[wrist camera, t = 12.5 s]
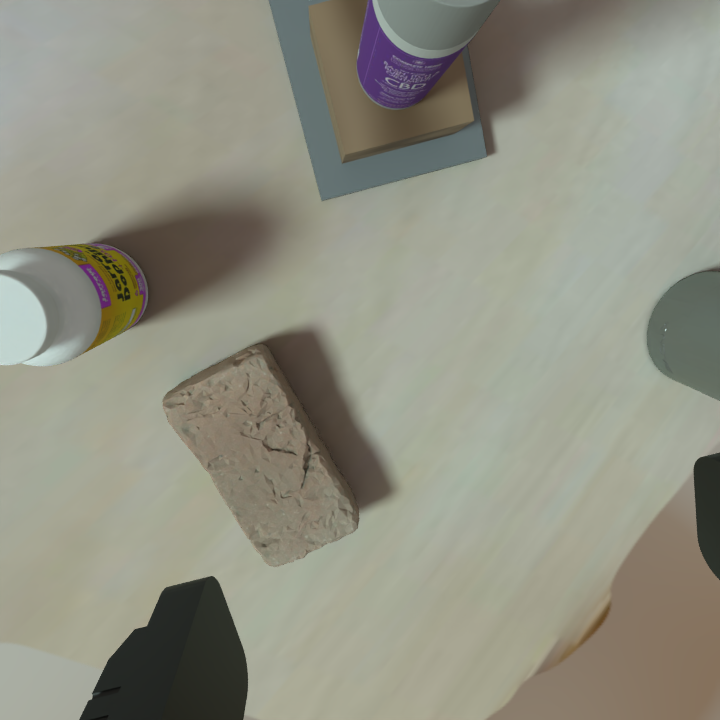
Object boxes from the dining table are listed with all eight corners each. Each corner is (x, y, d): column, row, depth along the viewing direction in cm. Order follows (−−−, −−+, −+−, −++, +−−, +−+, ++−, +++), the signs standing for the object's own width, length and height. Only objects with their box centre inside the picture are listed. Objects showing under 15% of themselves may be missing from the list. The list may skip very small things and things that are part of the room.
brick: (362, 502, 44) (366, 534, 40) (275, 545, 45) (270, 581, 40) (266, 334, 40) (258, 348, 35) (171, 383, 40) (152, 403, 36)
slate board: (429, -139, 33) (433, -151, 31) (482, 158, 37) (487, 156, 36) (245, -90, 33) (242, -101, 31) (321, 201, 37) (321, 200, 36)
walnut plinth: (429, 5, 34) (447, -31, 29) (453, 134, 36) (474, 120, 31) (310, 36, 34) (308, 5, 29) (341, 163, 36) (345, 154, 31)
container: (371, 122, 31) (414, 34, 16) (344, 37, 29) (364, -140, 15) (446, 94, 31) (555, -20, 16) (422, 7, 29) (518, -200, 15)
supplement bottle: (170, 293, 38) (98, 328, 26) (107, 351, 39) (7, 411, 27) (101, 222, 37) (-12, 222, 24) (36, 283, 37) (-105, 314, 25)
